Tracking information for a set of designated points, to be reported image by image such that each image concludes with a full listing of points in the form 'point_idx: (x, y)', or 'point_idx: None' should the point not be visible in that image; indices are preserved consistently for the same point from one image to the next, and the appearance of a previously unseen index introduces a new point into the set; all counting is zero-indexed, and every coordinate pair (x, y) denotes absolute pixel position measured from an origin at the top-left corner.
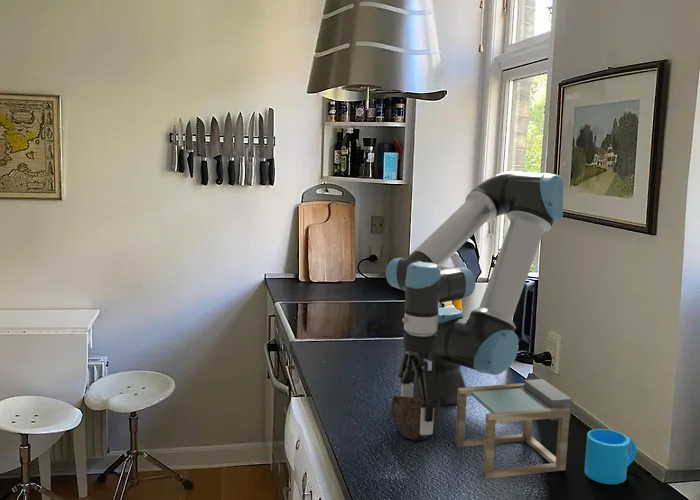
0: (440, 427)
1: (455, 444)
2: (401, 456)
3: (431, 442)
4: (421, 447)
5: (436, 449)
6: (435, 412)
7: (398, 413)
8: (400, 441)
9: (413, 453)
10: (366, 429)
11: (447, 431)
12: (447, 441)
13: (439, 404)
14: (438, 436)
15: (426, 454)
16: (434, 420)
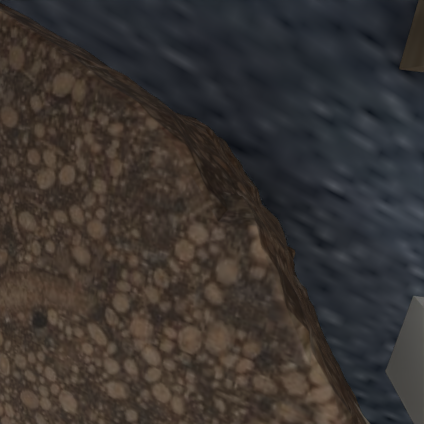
0: (111, 28)
1: (406, 69)
2: (373, 399)
3: (301, 203)
4: (333, 281)
5: (396, 219)
6: (263, 211)
7: None
8: None
9: (374, 344)
10: None
11: (188, 9)
12: (332, 97)
13: (179, 123)
14: (241, 118)
15: (419, 295)
16: (258, 193)
